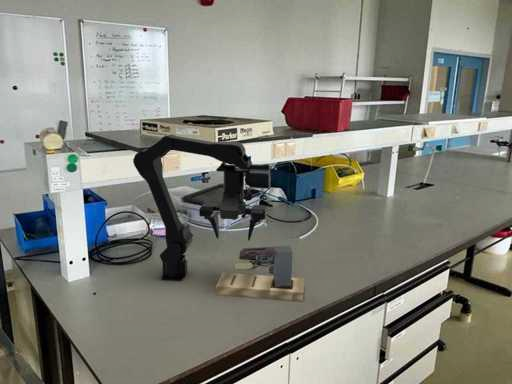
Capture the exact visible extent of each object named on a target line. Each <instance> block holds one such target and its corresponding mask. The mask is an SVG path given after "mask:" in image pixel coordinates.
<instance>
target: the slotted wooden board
mask: <svg viewBox="0 0 512 384" xmlns="http://www.w3.org/2000/svg"><path fill="white" fill-rule="evenodd" d="M304 290H305V278H301V277H291V289H279V288H273V275H263V274H262V275H261V274H246V273H238V272H237V273H234V272H222V273H221V274H220V278H219V279H218V282H217V283H216V286H215V295H218V296H220V295H221V296H234V297H244V298H256V299H257V298H259V299H270V300H279V301H281V300H283V301H293V302H294V301H295V302H297V301H298V302H304Z"/></svg>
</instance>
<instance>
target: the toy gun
mask: <svg viewBox="0 0 512 384" xmlns="http://www.w3.org/2000/svg"><path fill="white" fill-rule="evenodd" d="M239 259H240V260H249V262H243V263H234V269H235V270H252V269H254V268H258V267H259V266H260V265H266V264H267V265H269V264H271V265H270V266H269V268H268V272H269V273H270V274H273V271H274V264H272V263H274V246H261V247H260V246H259V247H243V248H242V250H240V251H239ZM256 264H257V265H256Z"/></svg>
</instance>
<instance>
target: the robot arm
mask: <svg viewBox="0 0 512 384" xmlns="http://www.w3.org/2000/svg"><path fill="white" fill-rule="evenodd" d="M170 151H175V152H183V153H187V154H188V153H189V154H193V155H194V154H195V155H199V156H204V157H205V156H206V157H210V158H213V159H215V160H217V161H219V162H222V163H220V165H219V166H218V167H217V168H216V172H222V173H223V194H222V198H221V199H222V200H221V203H220V205H218V204H217V202H210V201H209V202H207V201H205V202H204V203H203V204H202V205H201V206H200V207H199V212H198V213H199V217H203V218H204V220H207V221H208V222H210V225H211V227H212V229H213V232H214V234H215V238H216V239H219V238H220V224H219V220H220V219H222V220H232V221H235V220H237V219H239V216H242V215H244V216H246V215H249V216H250V218H249V219H250V220H249V227H248V228H249V229H248V234H247V241H250V240H251V238H252V234H253V231H254V229H255V227H256V224H257V223H261V222H262V221H264V220H266V218H267V214H268V207H267V206H266V205H265V204H264V205H262V204H253V205H252V207H247V203H246V201H244V199H245V198H244V196H245V190H244V188H245V187H244V186H245V185H247V187H249V188H250V189H271V182H272V181H271V180H272V179H271V177H272V175H271V168H270V167H271V165H270V164H269V163H261V164H260V163H259V164H257V163H253V162H252V160H251V159H250V158H249V156H248V154H246V148H245V146H244V144H243V143H242V142H240V141H236V140H235V141H233V140H231V141H230V140H229V141H227V140H226V141H209V140H202V139H196V138H191V137H190V138H189V137H184V136H180V135H175V134H167V135H165V136H162V138H161V139H159V140H158V141H157V142H155V143H154V144H153V145H151V146H150V147H149V148H145V149H143V150H140V151H138V152H136V153H135V155H134V157H133V159H132V161H133V162H132V163H133V166H134V167H135V170H136V171H137V172H138V174H139V175H140V176H141V178H143V179H144V181H145V182H146V183H147V186H148V187H149V190H150V192H151V195H152V197H153V200H154V202H155V205H156V207H157V210H158V213H159V215H160V218H161V221H162V222H163V225H164V230H165V235H164V236H165V243H166V244H165V245H166V247H165V249H164V250H163V251H162V252H161V253H160V254H159V257H160V260H161V263H162V275H161V277H160V279H161V280H166V281H167V280H168V281H169V280H170V281H183V279H184V278H185V276H187V274H188V272H189V271H188V260H187V259H186V255H185V254H186V252H187V251H188V249H190V247H191V246H192V244H193V237H194V234H193V233H192V232H191V228H190V225H189V224H186V225H185V224H183V223H182V222H181V219H179V216H178V213H177V210H176V208H175V205H174V202H173V199H172V198H171V195H170V192H169V189H168V187H167V185H166V181H165V179H164V175H163V174H164V173H163V172H164V169H163V167H164V166H163V161H162V159H163V157H165V156H166V155H167V154H169V153H170ZM219 215H220V219H219Z"/></svg>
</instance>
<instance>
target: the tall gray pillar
mask: <svg viewBox="0 0 512 384" xmlns="http://www.w3.org/2000/svg"><path fill="white" fill-rule="evenodd" d="M273 247H274V261H273V265H274V271H273V273H272V276H273V286H272V288H279V289H292V288H291V278H292V272H293V269H292V267H293V266H292V265H293V250H292V247H291V246H290V245H274V246H273Z"/></svg>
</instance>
